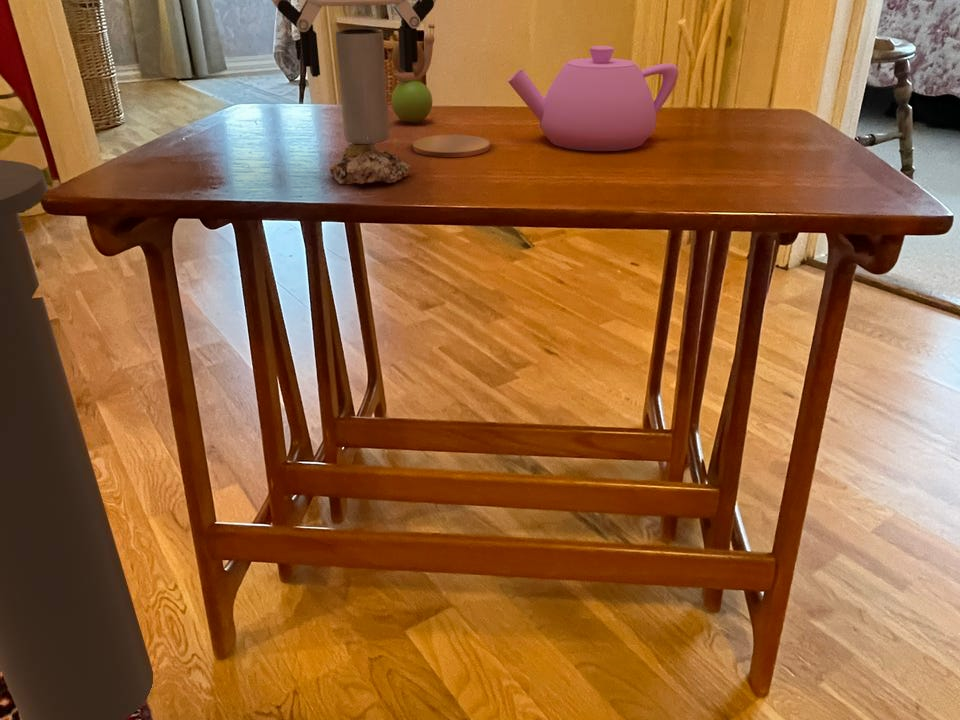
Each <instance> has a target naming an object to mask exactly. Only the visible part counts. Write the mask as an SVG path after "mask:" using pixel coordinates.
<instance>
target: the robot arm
mask: <svg viewBox="0 0 960 720" xmlns="http://www.w3.org/2000/svg"><path fill="white" fill-rule="evenodd" d="M436 1H437V0H417V1H416V2H415V4H413V6H412V5H411V4H410V3H409V1H408V0H305V1H304V3H303V5H302V6H301V8H300V9H299V10H298V9H297V8H296V7H295V6H294V5H293V4H292V3H291V2H290V1H289V0H271V2H272V3H273V4H274V6H275V7H276V9H277V10H278V11H279V13H280V14H281V15H282V16H283V17H285V18H286V19H287V20H288V21H289V22H290V23H291V24H292V25H293V26H294V27H295V28H296V29H297V30H299V42H300V52H301V60H302V66H303V68H309V72H310V75H311V77H313V78H317V77H319V76H321V67H320V57H319V48H318V47H319V46H318V35H317V32H316V31H315V30H314V24H313V23H314V21H315V19H316V18H317V16H318V14H319V13H320V11H321V9H322V7H352V6H353V7H355V6H357V7H358V6H387V5H390V6H391V7H392V8H393V10H394V11H395V13H396V14H397V16H398V17H399V19H400V25H399V27H398V28H397V31H398V33H397V34H398V43H399V56H400V68H401V69H402V70H404V71H405V72H407V73H412V72H413V64H412V62H417V61H418V53H417V43H418V28H419V27H420V26H421V24H422V22H423V20H424V19H425V18H426V17H427V16H428V15H429V13H430V12H432V10H433V8H434V6H435V3H436Z"/></svg>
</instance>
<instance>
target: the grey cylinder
mask: <svg viewBox="0 0 960 720" xmlns="http://www.w3.org/2000/svg"><path fill="white" fill-rule="evenodd" d="M384 41H385V39H384V31H383V30H382V29H378V28H346V29H345V28H343V29H338V30H336V31H335V43H336V55H337V56H336V57H337V66H338V78H339V79H338V80H339V90H340V101H341V114H342V126H343V136H344V141H345V142H347V143H350V144H352V143H355V144H374V145H375V144H380V143H385V142H386V141H388V140H389V138H390V129H389V128H390V127H389V110H388V109H389V108H388V95H387V94H388V93H387V91H388V90H387V76H386V59H385V43H384Z"/></svg>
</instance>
